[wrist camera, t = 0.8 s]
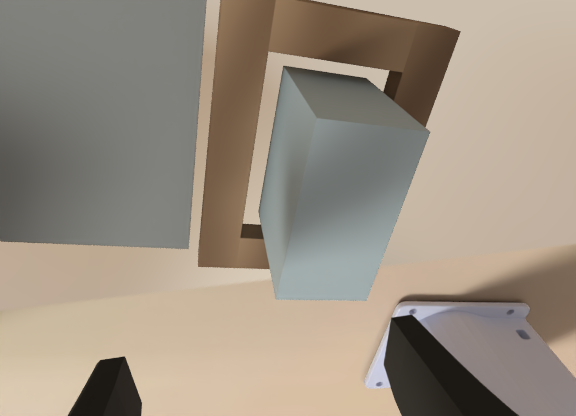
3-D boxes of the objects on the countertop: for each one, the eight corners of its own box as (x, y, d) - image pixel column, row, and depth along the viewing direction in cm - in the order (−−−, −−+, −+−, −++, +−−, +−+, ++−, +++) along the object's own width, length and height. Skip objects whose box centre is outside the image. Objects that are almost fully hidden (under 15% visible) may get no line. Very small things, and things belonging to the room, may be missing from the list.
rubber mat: (206, -4, 15) (206, -2, 14) (188, 242, 20) (188, 249, 20) (-54, -52, 13) (-63, -52, 12) (5, 234, 18) (0, 241, 18)
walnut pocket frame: (445, 26, 17) (460, 31, 16) (364, 257, 23) (371, 272, 22) (222, -17, 15) (223, -14, 14) (198, 251, 21) (198, 266, 20)
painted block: (366, 78, 17) (430, 132, 12) (328, 216, 21) (366, 300, 16) (283, 65, 17) (317, 117, 12) (258, 211, 20) (276, 299, 15)
